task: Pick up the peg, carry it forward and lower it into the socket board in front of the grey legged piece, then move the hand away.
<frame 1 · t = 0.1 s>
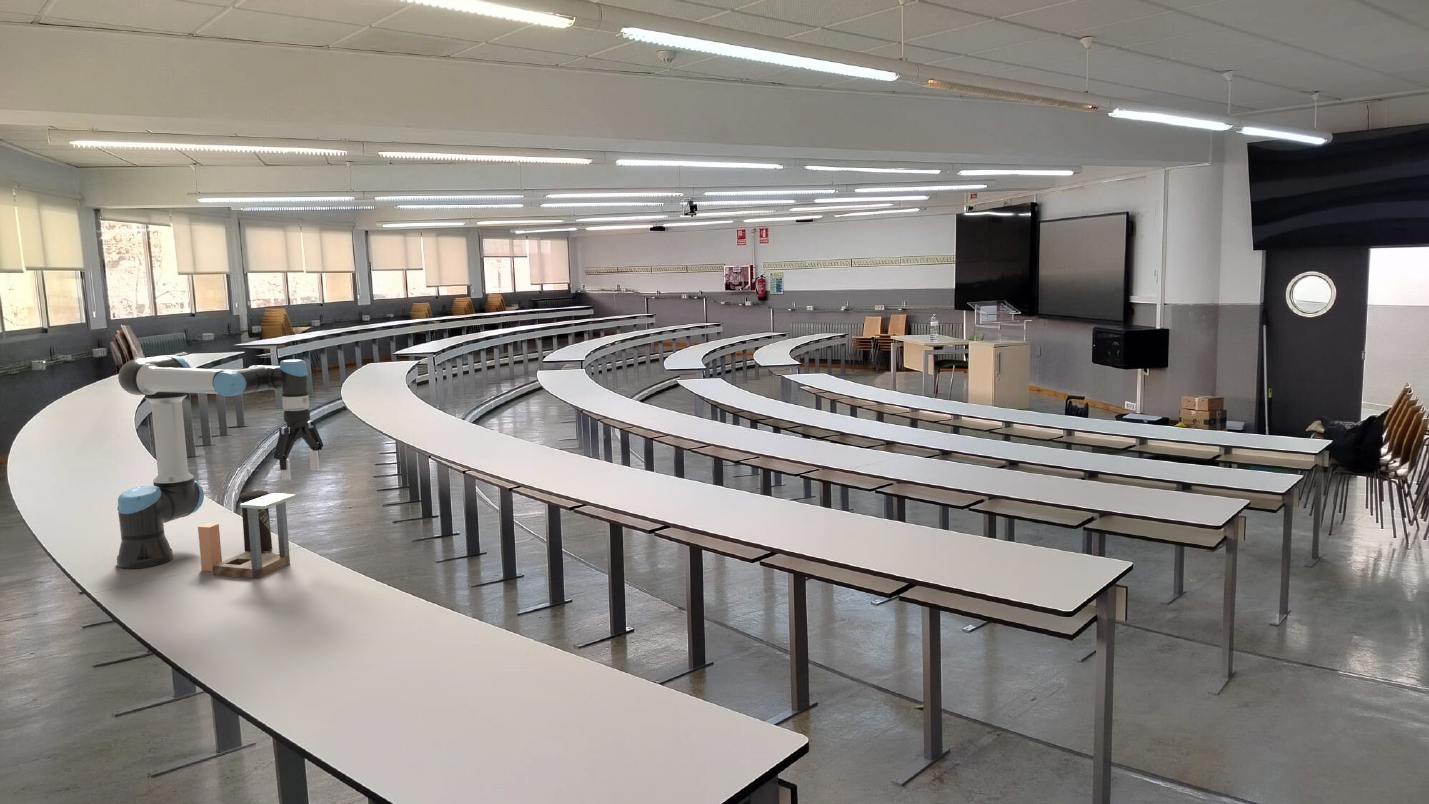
hand: (301, 475, 282), 28 cm above the table, fingers open, 13 cm apart
grey legged piece: (271, 535, 273), on the table
socket board: (252, 569, 276), on the table
container: (258, 550, 295), on the table
peg: (212, 568, 277), on the table
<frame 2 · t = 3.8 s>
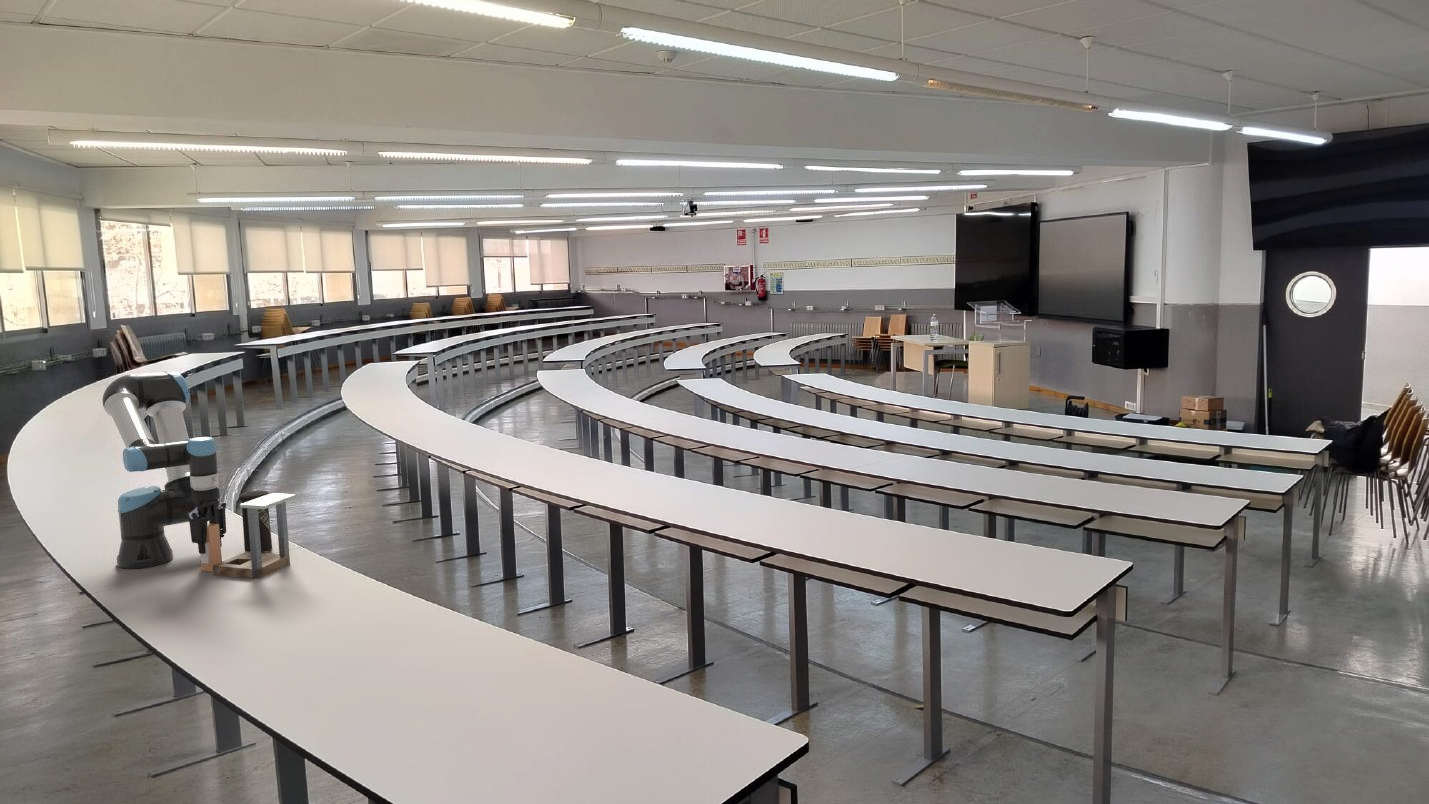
hand: (211, 560, 277), 3 cm above the table, fingers closed on peg, 4 cm apart
peg: (212, 568, 277), on the table, touching gripper
everything else where it was.
when the fingers open (4 cm above the table, at t = 8.2 s): peg drops 1 cm, resting on socket board.
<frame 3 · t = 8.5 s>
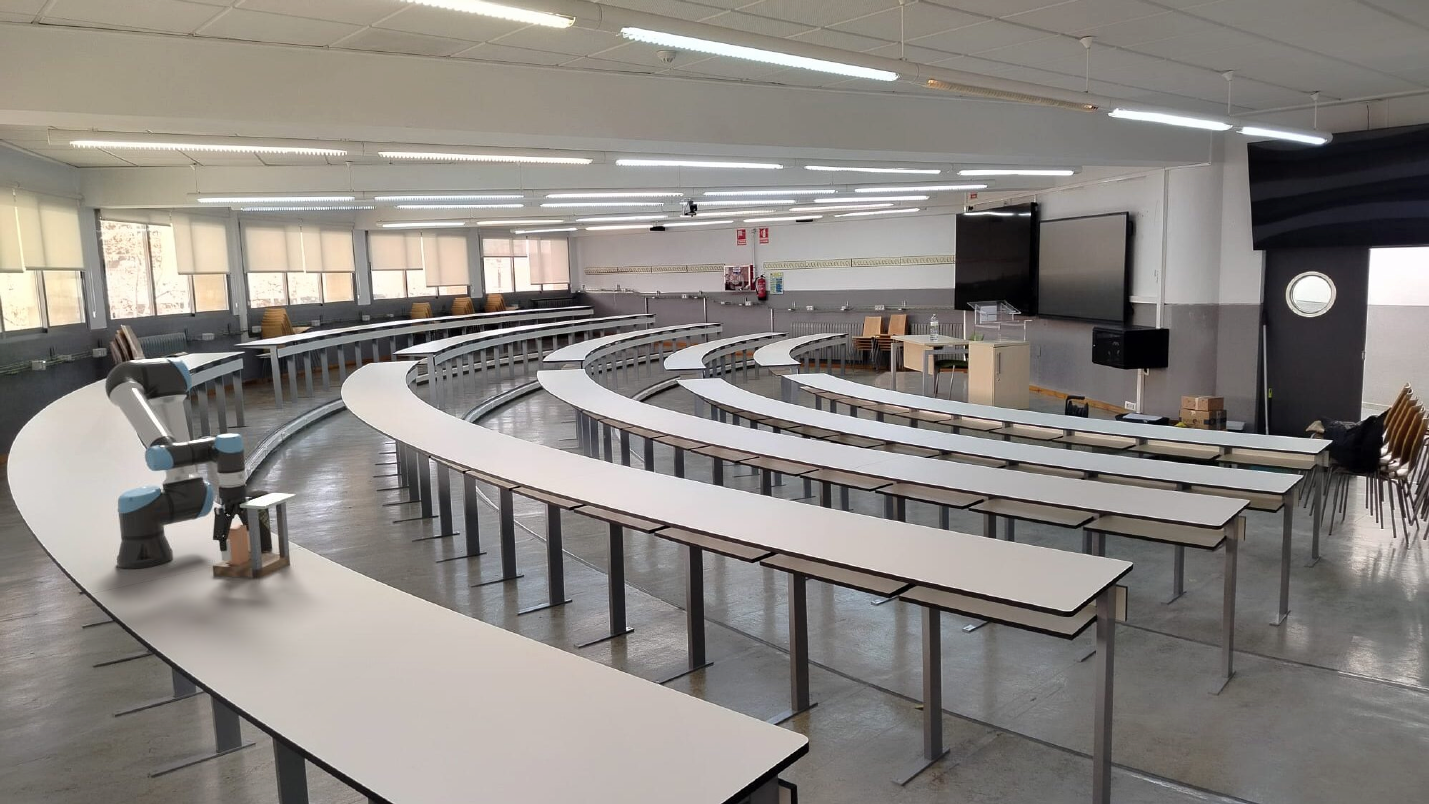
hand: (238, 555, 274), 5 cm above the table, fingers open, 9 cm apart
peg: (239, 570, 275), resting on socket board
everything else where it was.
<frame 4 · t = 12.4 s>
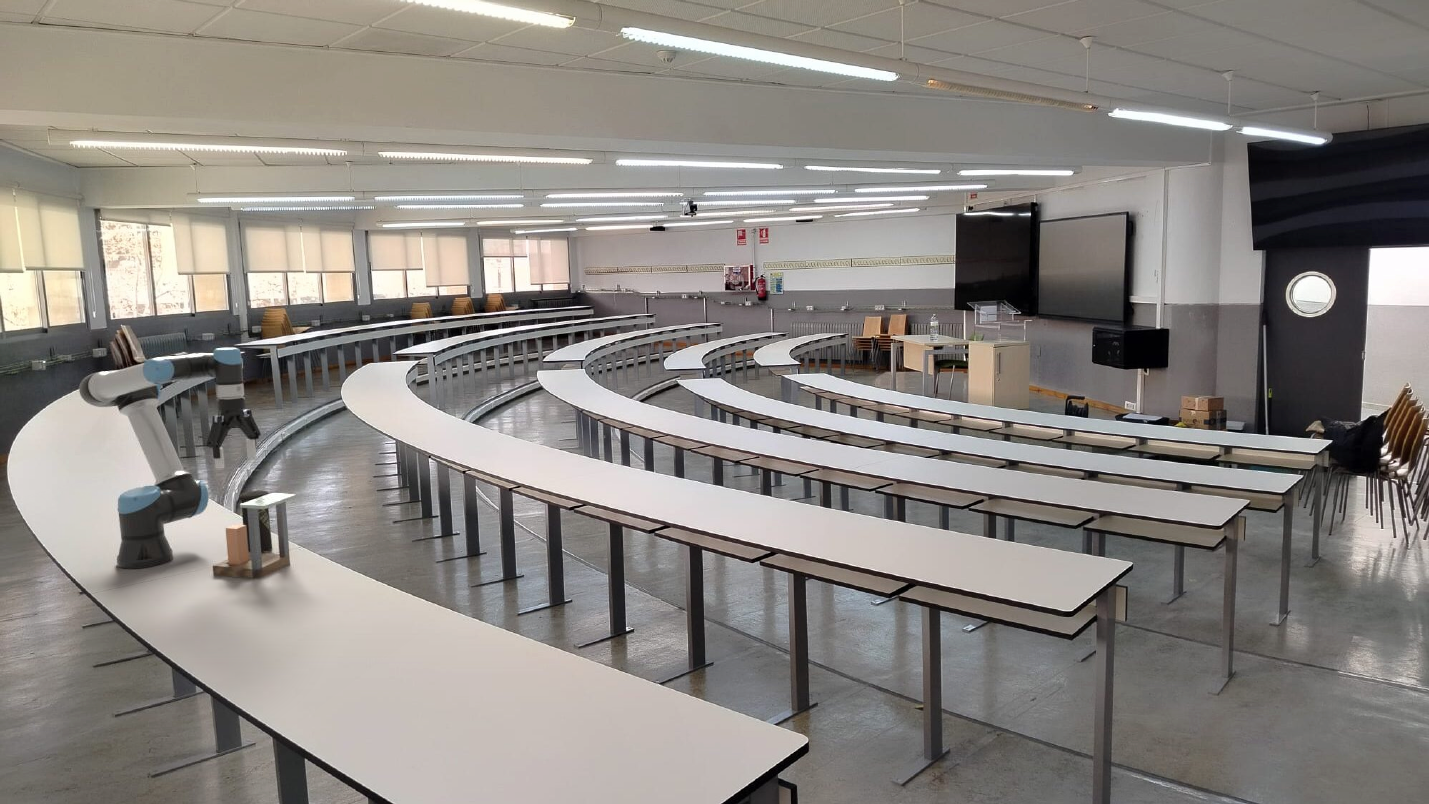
hand: (236, 463, 280), 32 cm above the table, fingers open, 13 cm apart
nothing on the table moved.
at the end: peg 0.0 cm from the target spot on the socket board, point 0.2 cm above the socket board's base; peg tilted 0°; the gripper is holding nothing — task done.
